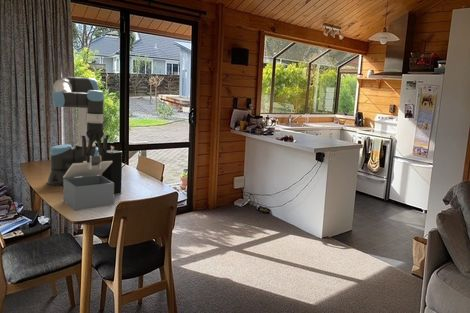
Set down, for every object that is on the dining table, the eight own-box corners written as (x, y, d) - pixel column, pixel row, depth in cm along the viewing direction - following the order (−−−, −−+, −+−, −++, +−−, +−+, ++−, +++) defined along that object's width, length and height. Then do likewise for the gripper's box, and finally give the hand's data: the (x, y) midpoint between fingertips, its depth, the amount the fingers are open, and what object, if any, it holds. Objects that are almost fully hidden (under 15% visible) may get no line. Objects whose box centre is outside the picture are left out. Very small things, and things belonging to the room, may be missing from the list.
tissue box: (110, 196, 211) (111, 147, 206) (101, 193, 215) (102, 145, 210) (121, 193, 218) (122, 146, 213) (112, 190, 222) (113, 144, 217)
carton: (63, 200, 198) (63, 178, 195) (100, 195, 211) (101, 175, 208) (74, 210, 184) (74, 187, 182) (113, 204, 197) (114, 183, 195)
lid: (63, 180, 195) (62, 174, 196) (101, 176, 208) (100, 171, 209) (76, 163, 178) (75, 157, 179) (116, 160, 191) (115, 155, 192)
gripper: (79, 123, 175) (79, 171, 179) (115, 123, 186) (114, 168, 190) (74, 121, 180) (74, 168, 185) (109, 121, 191) (108, 165, 196)
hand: (94, 168), depth 188 cm, fingers closed on lid, 4 cm apart
